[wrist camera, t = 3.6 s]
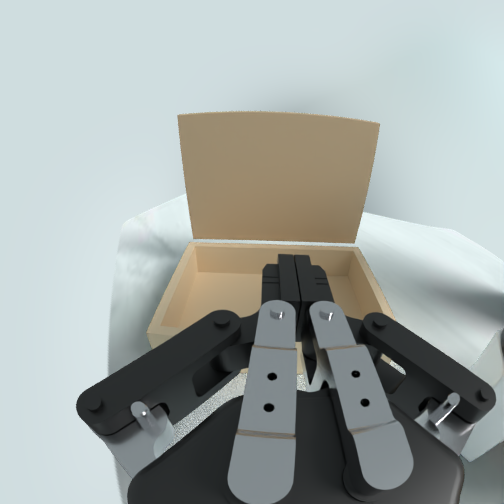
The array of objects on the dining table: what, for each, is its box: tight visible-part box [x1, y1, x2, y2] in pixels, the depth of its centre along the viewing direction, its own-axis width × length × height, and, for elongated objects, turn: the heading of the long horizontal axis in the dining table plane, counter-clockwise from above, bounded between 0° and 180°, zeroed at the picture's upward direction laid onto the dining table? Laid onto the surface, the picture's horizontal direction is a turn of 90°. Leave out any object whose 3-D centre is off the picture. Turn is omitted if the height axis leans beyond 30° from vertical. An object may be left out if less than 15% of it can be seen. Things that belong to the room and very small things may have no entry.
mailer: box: [146, 242, 396, 374], centre depth 29 cm, size 16×22×4 cm
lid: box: [178, 111, 380, 243], centre depth 30 cm, size 16×21×1 cm
